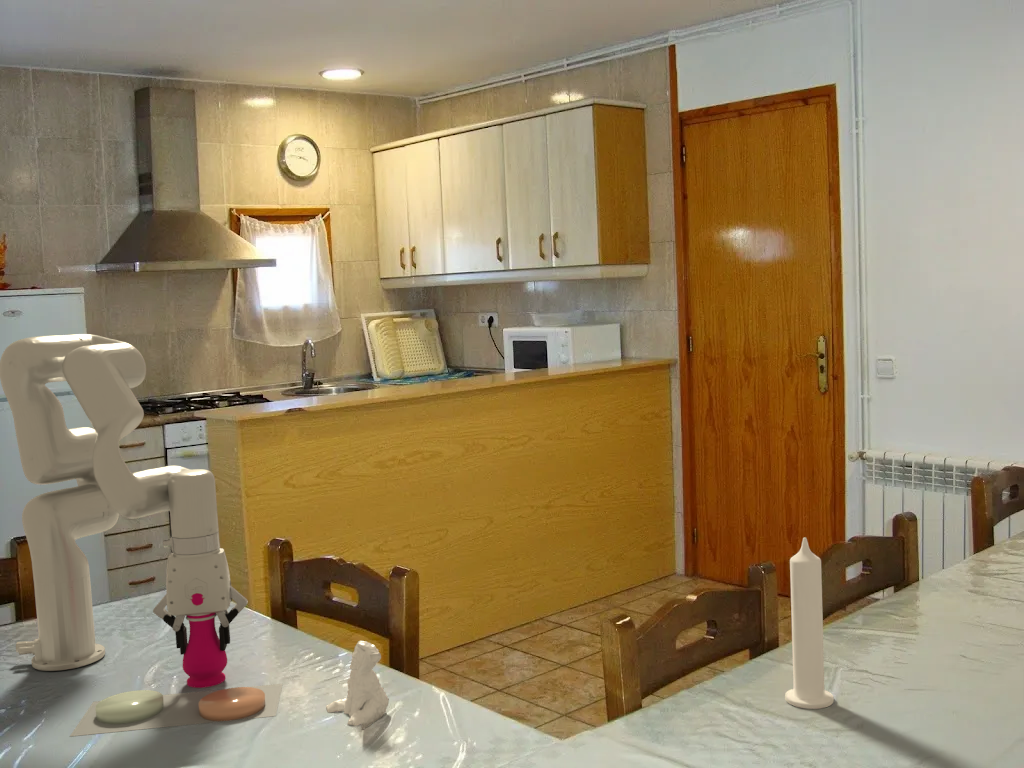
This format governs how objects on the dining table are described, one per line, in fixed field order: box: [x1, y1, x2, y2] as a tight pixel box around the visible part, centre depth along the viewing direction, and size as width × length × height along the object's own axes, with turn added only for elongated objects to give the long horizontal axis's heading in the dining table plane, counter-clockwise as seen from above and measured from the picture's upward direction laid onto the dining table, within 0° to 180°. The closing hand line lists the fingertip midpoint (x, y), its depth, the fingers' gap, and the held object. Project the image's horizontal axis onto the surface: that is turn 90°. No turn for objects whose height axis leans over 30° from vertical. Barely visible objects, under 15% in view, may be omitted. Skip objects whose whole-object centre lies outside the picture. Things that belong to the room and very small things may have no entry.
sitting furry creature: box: [325, 640, 390, 731], centre depth 161 cm, size 10×9×12 cm
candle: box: [784, 536, 835, 710], centre depth 159 cm, size 7×7×25 cm
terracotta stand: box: [199, 686, 265, 722], centre depth 165 cm, size 10×10×2 cm
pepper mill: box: [182, 593, 228, 689], centre depth 177 cm, size 7×7×20 cm
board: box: [69, 683, 284, 738], centre depth 166 cm, size 30×14×1 cm, turn 98°
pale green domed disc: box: [95, 689, 164, 724], centre depth 166 cm, size 10×10×2 cm
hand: (204, 649), depth 177 cm, fingers closed on pepper mill, 5 cm apart
